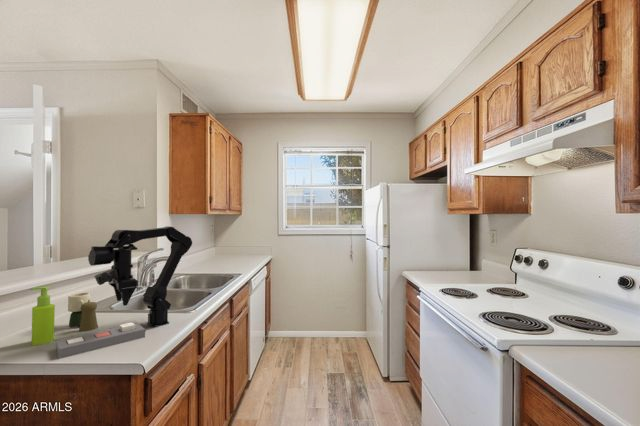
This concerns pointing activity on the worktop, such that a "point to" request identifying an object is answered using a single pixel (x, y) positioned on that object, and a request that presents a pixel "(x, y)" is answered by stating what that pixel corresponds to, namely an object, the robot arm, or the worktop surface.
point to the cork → (88, 316)
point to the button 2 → (127, 327)
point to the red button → (102, 334)
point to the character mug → (76, 307)
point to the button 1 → (75, 340)
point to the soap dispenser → (43, 319)
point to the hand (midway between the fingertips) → (121, 303)
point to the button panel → (97, 340)
